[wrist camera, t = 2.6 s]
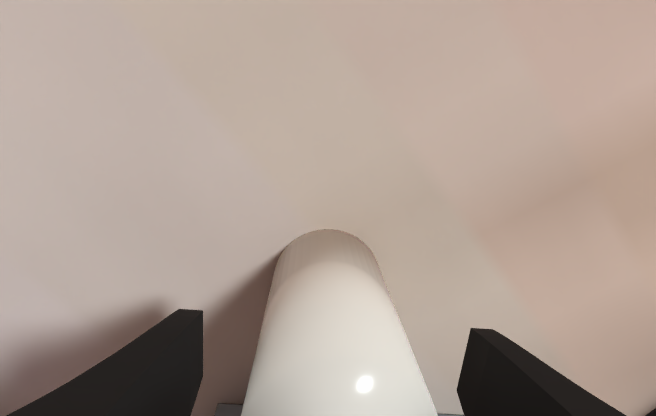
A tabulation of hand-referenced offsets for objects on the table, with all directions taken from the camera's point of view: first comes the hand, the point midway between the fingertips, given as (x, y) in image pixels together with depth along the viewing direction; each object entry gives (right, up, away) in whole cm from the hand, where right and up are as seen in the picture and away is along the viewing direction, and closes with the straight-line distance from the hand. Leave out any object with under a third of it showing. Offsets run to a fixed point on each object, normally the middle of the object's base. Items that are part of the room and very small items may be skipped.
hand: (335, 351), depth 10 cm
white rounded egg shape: (0, +1, +4) cm, 4 cm away
